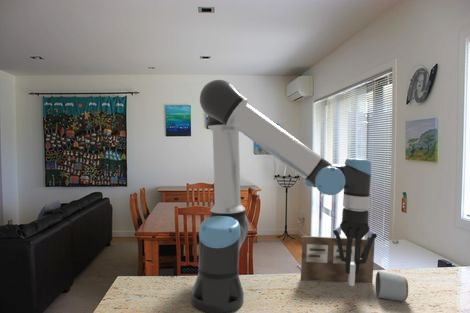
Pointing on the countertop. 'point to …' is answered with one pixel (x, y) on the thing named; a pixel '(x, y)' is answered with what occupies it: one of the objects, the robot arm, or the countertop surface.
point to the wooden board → (332, 260)
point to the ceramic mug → (391, 286)
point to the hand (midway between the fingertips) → (351, 283)
